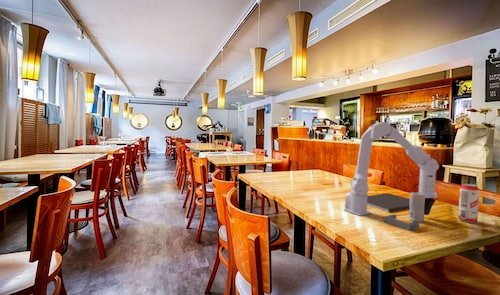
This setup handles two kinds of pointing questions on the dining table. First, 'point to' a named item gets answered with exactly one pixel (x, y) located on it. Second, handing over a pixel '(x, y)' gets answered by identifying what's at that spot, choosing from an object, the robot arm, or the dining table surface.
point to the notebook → (388, 202)
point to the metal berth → (400, 223)
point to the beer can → (468, 203)
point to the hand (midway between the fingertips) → (425, 214)
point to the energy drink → (416, 207)
